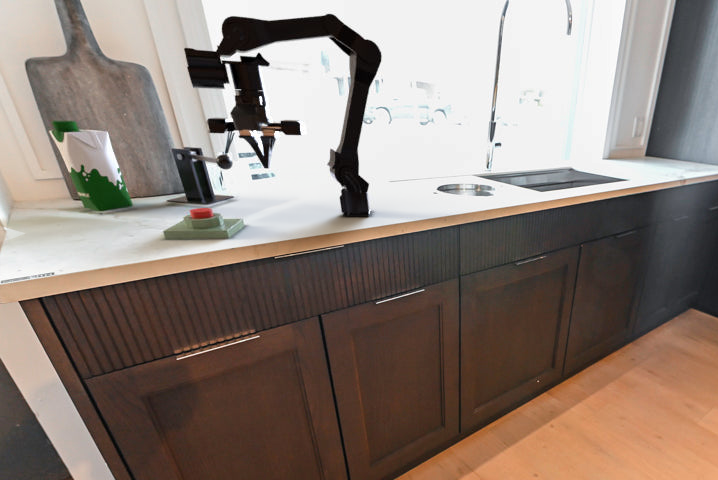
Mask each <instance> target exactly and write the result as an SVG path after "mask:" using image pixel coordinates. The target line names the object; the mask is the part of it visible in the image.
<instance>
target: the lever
mask: <svg viewBox="0 0 718 480" xmlns="http://www.w3.org/2000/svg"><path fill="white" fill-rule="evenodd" d="M190 153H191V156H192V160H193V162H194V161H198V160H202V161H205V162H208V163H213V164H216V165H217V167H219V168H220V169H221V170H224V171H225V170H226V171H227V170H229V169H232V167H233V165H234V163H233V160H232V157H230V156H228V155H227V154H220V155H219V154H218V156H217V157H212V156H207V155H206V156H205V155H203V156H200V155H196V151H191V150H190Z"/></svg>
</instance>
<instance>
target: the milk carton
mask: <svg viewBox="0 0 718 480" xmlns="http://www.w3.org/2000/svg"><path fill="white" fill-rule="evenodd" d="M51 124H52V126H53V129H54V130H48V131H49V132H48V133H49V134H50V136H51V138H52V140H53V142H54V143H55V145H56V147H57V148H58V151H59V152H60V155H61V157H62V159H63V163H64V164H65V166H66V169H67V171H68V173H69V175H70V178H71V180H72V182H73V185H74V187H75V190H76V192H77V194H78V197H79V199H80V201H81V203H82V205H83V207H84V209H87V210H92V211H95V212H99V213H97V214H99V215H102V212H106V211H111V210H117V209H123V208H130V207H133V206H134V204H133V201H132V198H131V196H130V193H129V191H128V188H127V185H126V182H125V180H124V177H123V174H122V172H121V169H120V165H119V163H118V161H117V158H116V155H115V152H114V150H113V147H112V142H111V140H110V139H111V138H110V135H109V132H108V131H105V130H104V131H103V130H96V129H79V126H78V124H77V122H76V120H52V121H51ZM100 212H101V213H100Z"/></svg>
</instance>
